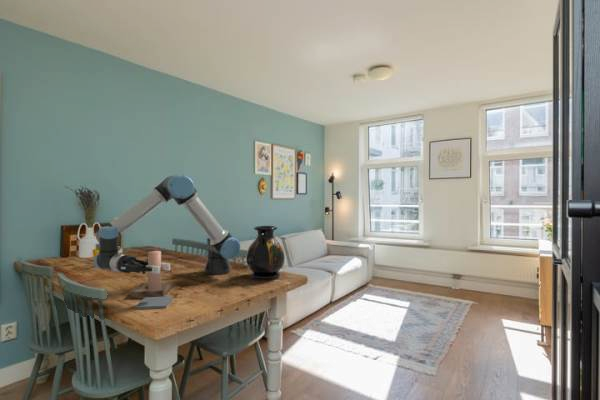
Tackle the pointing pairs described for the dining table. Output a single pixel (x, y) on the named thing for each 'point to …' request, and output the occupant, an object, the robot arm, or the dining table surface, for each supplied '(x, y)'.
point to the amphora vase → (265, 255)
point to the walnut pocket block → (143, 292)
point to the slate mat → (154, 302)
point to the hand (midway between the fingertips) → (164, 268)
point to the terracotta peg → (154, 278)
